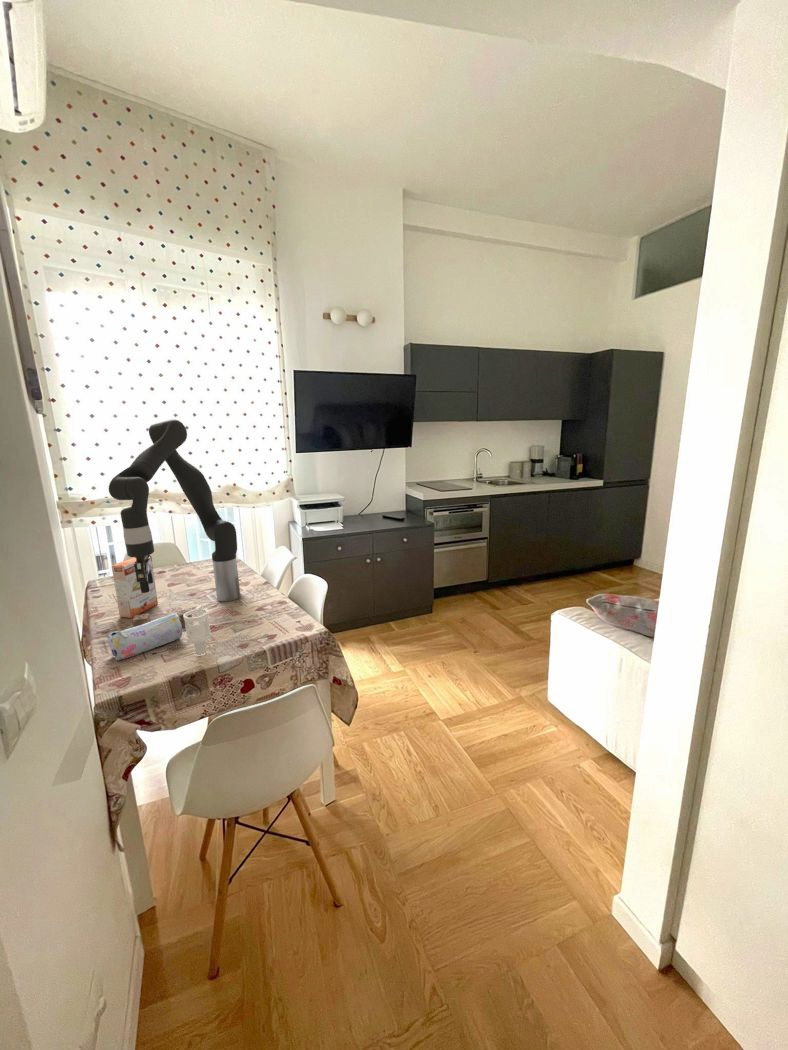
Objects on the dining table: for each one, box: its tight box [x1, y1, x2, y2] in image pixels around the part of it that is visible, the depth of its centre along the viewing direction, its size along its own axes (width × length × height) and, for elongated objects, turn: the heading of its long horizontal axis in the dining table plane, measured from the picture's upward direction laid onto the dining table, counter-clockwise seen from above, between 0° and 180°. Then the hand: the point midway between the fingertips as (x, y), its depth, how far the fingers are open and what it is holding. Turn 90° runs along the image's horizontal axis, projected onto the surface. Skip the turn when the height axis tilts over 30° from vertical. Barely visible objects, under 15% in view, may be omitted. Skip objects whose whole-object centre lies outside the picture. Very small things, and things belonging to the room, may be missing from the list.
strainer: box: [183, 605, 212, 655], centre depth 134 cm, size 7×7×15 cm
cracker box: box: [111, 555, 159, 619], centre depth 167 cm, size 14×6×21 cm, turn 168°
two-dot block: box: [176, 608, 193, 628], centre depth 157 cm, size 4×4×5 cm
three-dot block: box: [132, 612, 152, 627], centre depth 154 cm, size 4×4×5 cm
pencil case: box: [107, 612, 183, 661], centre depth 139 cm, size 21×9×10 cm, turn 135°
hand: (147, 587), depth 140 cm, fingers open, 8 cm apart
